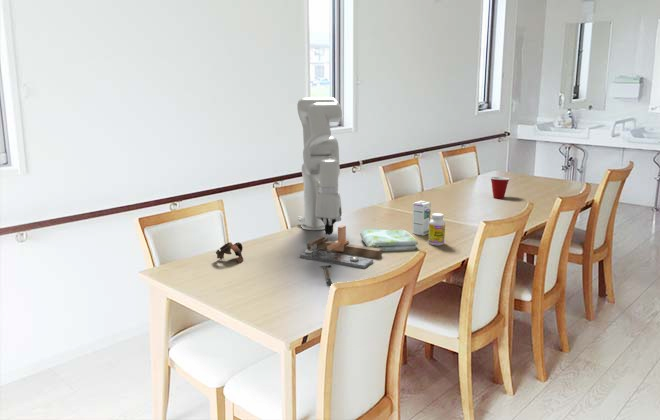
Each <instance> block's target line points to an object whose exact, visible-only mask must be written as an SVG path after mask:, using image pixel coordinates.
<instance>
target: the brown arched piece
mask: <svg viewBox="0 0 660 420" xmlns="http://www.w3.org/2000/svg"><path fill="white" fill-rule="evenodd" d="M231 251H233V252H234V256H236V261H237V263H238V264H241V263H242V262H243V260H244V258H243V255H242V252H243V244H242V243H241V242H239V241H238V242H236V243H234V244H233V243H232V242H231V241H230V242H227V243H225V244H224V245H222V246H221V247H219V249H217V250H216V252H215V254H216V259H218V260H219V259H220V260H223V259H225V254H226V255H233V254H232V252H231Z"/></svg>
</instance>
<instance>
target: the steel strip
mask: <svg viewBox="0 0 660 420" xmlns="http://www.w3.org/2000/svg"><path fill="white" fill-rule="evenodd" d="M300 258H301V259H306V260H312V261H319V262H323V263H329V264H336V265H341V266H348V267H353V268H358V269H366V268H367V267H369V266H370V265H372V264H373V262H374V259H373V258H366V257H361V256H358V255H348V254H342V253H337V252H331V253H327V251H325V250H324V251H323V250H319V249H317V250H316V249H312V248H311V250H307V248H306V249H305V250H304V252H302V253H300V254H299V259H300Z"/></svg>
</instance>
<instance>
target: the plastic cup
mask: <svg viewBox="0 0 660 420" xmlns="http://www.w3.org/2000/svg"><path fill="white" fill-rule="evenodd" d="M490 181H491V188H492V198H493V199H495V198H496V200H503V199H505V195H506V191H507V189H508V188H507V187H508V184H509V181H510V177H509V178H508V177H503V176H490Z"/></svg>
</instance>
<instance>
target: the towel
mask: <svg viewBox="0 0 660 420" xmlns="http://www.w3.org/2000/svg"><path fill="white" fill-rule="evenodd" d="M359 236H360V237H361V239H362V241H363V242H364V244H365V245H366V246H365V247H372V248H379V249H382V252H392V251H394V252H395V251H412V250H416V249H417V245H418V244H419V243H418V240H417V238H415V237H414V236H413V235H412V234H411V233H410V232H409V231H407V230H405V229H379V228H378V229H377V228H376V229H375V228H368V229H367V228H366V229H363V230H361V232H360V235H359Z"/></svg>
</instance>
